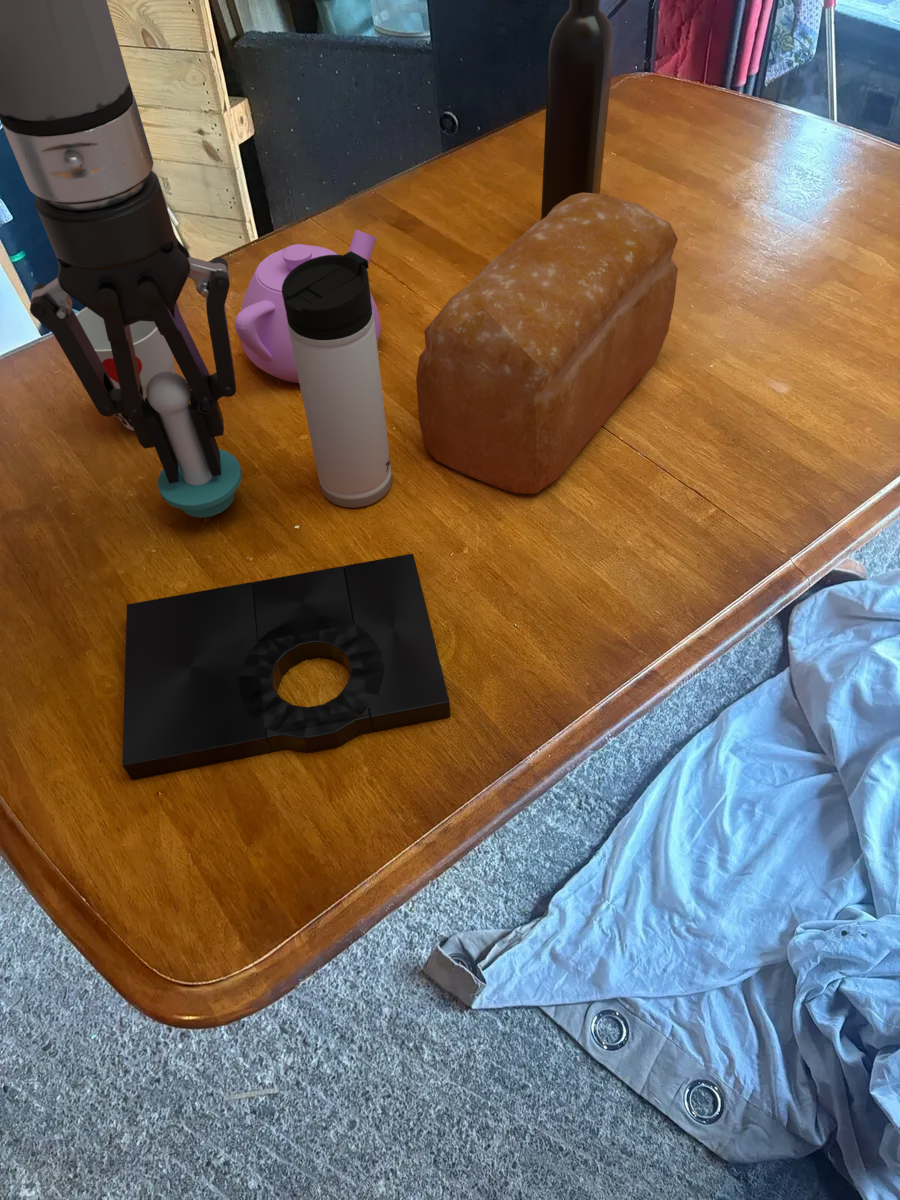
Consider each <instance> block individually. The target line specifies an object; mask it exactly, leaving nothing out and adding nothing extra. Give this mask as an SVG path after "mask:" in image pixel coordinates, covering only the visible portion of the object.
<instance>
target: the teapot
mask: <svg viewBox="0 0 900 1200" xmlns="http://www.w3.org/2000/svg"><path fill="white" fill-rule="evenodd" d="M377 238H378V237H376V236H374V235H372V234H369V233H367V232H364V231H361V230H359V229H355V230H354V232H353V236H352V239H351V241H350V246H349V249H348V251H347V253H348V252H350V251H352V252H354V253H356V254H357V255H359V256H361V257H363V258H365V259H366V260H368V265H369V264H370V261H371V258H372V254H373V251H374V248H375V246H376V242H377ZM325 255H339V254H338V253H337V252H335V251H333V250H331V249H329V248H326V247H324V246H323V247H322V246H318V245H307V244H301V243H296V244H291V245H287V246H286V247H285V248H282V249H279V250H278V251H275V252H273V253H271V254H270V255H268V256H267V257H265V258H264V259H263V260H262V261H261V262H260V263H259V264H258V265H257V266H256V269H255V271H254V273H253V274H252V277H251V279H250V281H249V283H248V286H247V288H246V291H245V293H244V297H243V300H242V303H241V306H240V307H241V308H240V311H239V312H238V313H237V314H236V316H235V318H234V329H235V332H236V334H237V336H238V338H239V340H240V343H241V345H242V350H243V351H244V354H245V355H246V356H247V358H248V359H249V360H250V362H251V363H252V364H254V365H255V367H258V368H259V369H261V370H262V371H264V372H265V373H267V374H268V375H271V376H272V377H274V378H277V379H279V380H282V381H285V382H289V383H294V384H300V383H299V378H298V374H297V369H296V364H295V359H294V354H293V349H292V344H291V339H290V334H289V328H288V324H287V315H286V310H285V305H284V300H283V295H282V285H283V282H284V280H285V278H286V277H287V275H288V274H289V273H290V272H291V271H292V270H293V269H294V268H296V267H297V266H298V265H300V264H302V263H304V262H305V261H308V260H310V259H313V258H316V257H320V256H325ZM366 269H367V268H366ZM367 270H368V269H367ZM370 295H371V304H372V309H373V315H374V323H375V332H376V341H377V344H378V342H379V340H380V336H381V332H382V325H381V317H380V313H379V310H378V308H377V305H376V302H375V299H374V297H373V295H372V293H371V292H370Z"/></svg>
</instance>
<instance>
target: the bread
mask: <svg viewBox="0 0 900 1200" xmlns="http://www.w3.org/2000/svg"><path fill="white" fill-rule="evenodd" d="M678 240H679V239H678V237H677V235H676V233H675V230H674V228H673V227H672V224H671V222H670V221H667V220H666V219H664V218H662V217H661V216H659V215H658V214H656V213H654V212H653V211H651V210H649V209H648V208H646V207H644V206H642V205H641V204H639V203H637V202H634V201H629V200H626V199H623V198H619V197H616V196H613V195H608V194H605V193H600V194H595V193H578V194H575V195H571V196H569V197H568V198H566V199H565V200H563V201H562V202H560V203H559V204H557V205H556V206H554V207H553V209H552V210H551V211H550V212H549V214H548V215H547V216H546V217H545V218H543V219H542V220H541V219H540V220H538V221H537V222H536V223H534V224H533V225H532V226H531V227H530V228H528V229H527V230H526V231H525V232H524V233H523V234H522V235H521V236H519V237H518V238H517V239H516V240H514V241H513V243H511V244H510V245H509V246H507V247H506V248H505V249H504V250H503V251H502V252H501V253H499V254H498V255H497V256H496V257H494V259H492V260H491V261H490V262H489V263H487V264H486V265H485V266H484V268H482V270H481V271H480V272H479V273H478V274H477V275H476V277H475V278H473V280H472V281H471V282H470V283H469V284H468V285H466V286H465V287H463V288H462V289H460V290H459V291H458V292H456V293H455V294H453V295H452V296H451V297H450V298H449V299H448V300H447V302H446V303H445V304H444V305H443V306H442V308H441V309H440V310H439V312H438V313H437V315H436V316H434V318H433V319H432V320H431V321H430V323H429V324H428V325H427V327H426V328H425V330H424V331H423V332H424V342H425V343H424V344H425V348H424V349H423V351H422V352H421V353H420V355H419V356H418V363H417V371H416V377H415V378H416V379H415V381H416V395H417V408H418V422H419V428H420V432H421V436H422V437H421V438H422V441H423V446H424V449H425V450H426V451H427V452H428V453H429V454H430V455H431V456H432V457H433V459H434V460H435V461H436V462H438V463H440V464H443V465H444V466H446V467H448V468H451V469H453V470H455V471H457V472H459V473H460V474H463V475H466V476H468V477H470V478H473V479H474V480H477V481H480V482H481V483H485V484H487V485H489V486H493V487H496V488H499V489H501V490H504V491H507V492H510V493H513V494H537V493H540V492H541V491H542V490H544V489H545V488H546V487H548V486H549V485H550V484H552V483H553V482H554V481H556V480H557V479H558V478H560V477H561V476H562V475H563V473H564V472H565V471H566V469H567V468H568V467H569V466H570V464H571V463H572V462H573V461H574V459H575V458H576V457H577V456H578V454H579V453H580V452H581V451H582V450H583V449H584V448H585V447H586V445H587V444H588V443H589V442H590V440H591V439H592V438H593V437H594V436H595V434H596V433H597V432H598V431H599V430H600V429H601V427H602V426H603V425H604V424H605V423H606V422H607V420H608V419H609V418H610V417H611V416H612V414H614V412H615V410H616V409H617V408H618V407H619V405H620V404H621V403H622V401H623V400H624V399H625V398H626V397H627V395H628V394H629V393H630V392H631V391H632V389H633V388H634V387H635V386H636V385H637V384H638V383H639V382H640V380H641V379H642V378H643V377H644V376H645V374H646V373H647V372H648V371H649V370H650V368H651V367H652V366H653V364H654V363H655V362H656V361H657V360H656V359H657V358H658V356H659V353H660V352H661V350H662V347H663V345H664V343H665V340H666V338H667V335H668V332H669V328H670V324H671V319H672V314H673V309H674V303H675V296H676V287H677V280H678V279H677V278H678V271H679V268H678V266H677V265H676V262H675V261H674V260H673V258H672V257H673V254H674V251H675V248H676V245H677V244H678V243H677V242H678Z"/></svg>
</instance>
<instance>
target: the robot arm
mask: <svg viewBox="0 0 900 1200" xmlns="http://www.w3.org/2000/svg"><path fill="white" fill-rule="evenodd" d="M0 124H1V126H2V128H3V131H4V133H5V136H6V138H7V140H8V143H9V145H10V148H11V150H12V152H13V155H14V158H15V159H16V162H17V165H18V167H19V169H20V172H21V174H22V176H23V179H24V181H25V183H26V185H27V187H28V190H29V191H30V192H31V193H32V194H34V195H35V199H34V205H35V208H36V211H37V212H38V213H37V214H38V216H39V218H40V221H41V223H42V226H43V229H44V230H45V233H46V236H47V238H48V240H49V242H50V246H51V247H52V250H53V253H54V254H55V257H56V259H57V263H58V272H57V275H56V277H55V278H54V279H53V280H52V281H50V282H49V283H44V282H38V283H36V284H34V285H33V288H32V293H31V298H30V306H29V312H30V314H31V315H32V317H34V318H35V319H36V320H37V321H38V322H40V323H41V324H42V325H43V326H44V328H46V329H47V330H48V331H49V332H51V334H53V336H54V337H55V340H56V341H57V343H58V345H59V346H60V348H61V351H63V354H64V355H65V357H66V359H67V360H68V362H69V363H70V365H71V367H72V369H73V370H74V372H75V374H76V376H77V377H78V380H79V381H80V383H81V384H82V386H83V388H84V389H85V391H86V393H87V394H88V396H89V398H90V400H91V401H92V403H93V405H94V407H95V408H96V410H97V411H98V413H99V415H101V416H102V417H112V416H115V415H114V413H118V414H123V415H125V416H127V417H128V418H129V419H130V421H131V423H132V426H133V428H134V431H133V432H134V433H135V435H136V438H137V441H138V443H139V445H140V446H141V447H142V448H143V449H150V448H155V450H156V453H157V456H158V459H159V461H160V464H161V466H162V470H163V469H164V471H165V474H166V477H167V479H168V482H169V484H170V483H176V482H179V475H178V461H177V459H176V456H175V454H174V451H173V448H172V446H171V443H170V441H169V438H168V436H167V433H166V430H165V428H164V425H163V423H162V420H161V418H160V415H159V412H157V411H156V410H155V409H154V408H153V407H152V406H151V405H150V403H149V402H148V399H147V398H145V401H144V398H143V387H142V385H141V380H140V375H139V370H138V365H137V360H136V355H135V350H134V345H133V340H132V335H131V330H130V326H129V325H131V324H133V323H136V322H138V321H150V322H154V323H155V325H156V327H157V328H158V330H159V332H160V334H161V335H162V336H164V338H165V340H166V342H167V344H168V346H169V348H170V350H171V352H172V354H173V359H175V362H176V364H177V365H178V368H179V369H180V371H181V373H182V375H183V378H184V379H185V380H186V382H187V383H188V385H189V387H190V390H191V399H190V402H189V403H190V407H191V415H192V418H193V421H194V424H195V427H196V430H197V433H198V436H199V439H200V442H201V445H202V448H203V451H204V454H205V457H206V460H207V463H208V466H209V469H210V472H211V475H212V476H217V475H221V461H220V452H219V449H220V448H219V446H218V442H217V439H216V437H223V436H224V432H225V425H224V416H223V413H222V409H221V407H220V404H219V400H220V399H221V398H222V397H225V398H231V397H233V396H236V395H235V394H236V393H237V384H236V374H235V366H234V358H233V352H232V344H231V338H230V332H229V325H228V318H227V311H226V302H227V298H228V294H229V290H230V285H231V283H230V272H229V264H228V261H227V260H226V258H223V257H220V256H216V257H213V258H212V259H211V260H210V261H207V260H203V259H199V258H197V257H196V258H195V257H192V256H190V254H189V251H188V250H187V248H186V247H185V246H184V245H183V244H182V243H181V242H180V241H179V239H178V237H177V236H176V233H175V230H174V227H173V223H172V220H171V216H170V213H169V210H168V207H167V203H166V200H165V196H164V193H163V190H162V187H161V182H160V179H159V177H158V175H157V174H156V173H155V172H154V171H153V167H154V159H153V156H152V155H153V154H152V151H151V147H150V145H149V142H148V137H147V134H146V131H145V127H144V124H143V121H142V116H141V114H140V111H139V108H138V104H137V100H136V97H135V95H134V93H133V89H132V86H131V82H130V79H129V76H128V72H127V68H126V65H125V62H124V58H123V54H122V51H121V47H120V44H119V39H118V36H117V33H116V28H115V26H114V22H113V18H112V15H111V12H110V8H109V4H108V1H107V0H0ZM188 278H189V279H191V280H192V281H193V282H194V285H195V290H196V292H197V293H198V294H199V295H200V296H201V297H202V298H205V306H206V317H207V323H208V329H209V335H210V336H209V337H210V341H211V348H212V353H213V360H214V365H215V371H216V372H214V373H212V374H210V372H209V370H208V368H207V366H206V364H205V361H204V359H203V358H202V355H201V353H200V351H199V349H198V347H197V344H196V343H195V341H194V339H193V337H192V335H191V333H190V331H189V328H188V326H187V325H186V323H185V320H184V318H183V316H182V314H181V311H180V309H179V305H178V299H179V298H180V295H181V293H182V291H183V289H184V286H185V284H186V282H187V280H188ZM71 298H72V299H74V300H76V301H77V302H78V303H80V304H81V305H83V306H84V307H85V308H86V307H87V308H89V309H90V310H91V311H93V312H94V313H96V314H97V315H98V316H100V317H101V318H103V319H104V324H105V328H106V333H107V337H108V341H109V342H110V345H111V350H112V354H113V359H114V363H115V368H116V372H117V377H118V381H119V386H120V389H116V388H115V386H114V384H113V382H112V381H111V379H110V377H109V375H108V373H107V371H106V370H105V368H104V366H103V364H102V362H101V360H100V359H99V357H98V355H97V353H96V351H95V349H94V348H93V346H92V344H91V342H90V340H89V339H88V337H87V335H86V333H85V331H84V329H83V328H82V326H81V324H80V322H79V320H78V318H77V317H76V313H75V312H74V310H73V300H72V299H71Z"/></svg>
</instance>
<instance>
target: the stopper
mask: <svg viewBox="0 0 900 1200" xmlns="http://www.w3.org/2000/svg"><path fill="white" fill-rule="evenodd" d="M146 395H147V399H148V402H149V403H150V405H151V406H152V407H153V408H154V409H155V410H156V411H157V412H159V415H160V418H161V420H162V423H163V425H164V428H165V430H166V433H167V436H168V438H169V441H170V443H171V446H172V448H173V451H174V454H175V456H176V459H177V461H178V475H179V482H176V483H170V484H169V482H168V479H167V477H166V474H165V471H164V469H163V468H162V469H161V471H160V473H159V475H158V478H157V489H158V491H159V494H160V496H161V497H162V499H163V501H164V502H165V503H167V504H168V505H170V506H171V507H173V508H176V509H179V510H182V511H183V512H184V513H185V514H187V515H188V516H190V517H193V518H211V517H214V516H217V515H219V514H221V513H223V512H224V511H225V510H227V509H228V508H229V507H230V506H231V504H233V501H234V499H235V493H236V491H237V490H238V488H239V487H240V485H241V483H242V479H243V472H242V471H243V470H242V468H241V465H240V461H238V459H237V458H236V457H235V455H233V454H232V453H230V452H228V451H226V450H223V449H220V448H219V452H220V461H221V475H217V476H212V475H211V472H210V469H209V466H208V463H207V460H206V457H205V454H204V451H203V448H202V445H201V442H200V439H199V436H198V433H197V430H196V427H195V424H194V421H193V418H192V415H191V407H190V399H191V389H190V387H189V385H188V383H187V381H186V379H185V377H184V376H182V375H180V374H178V373H176V372H175V373H174V372H169V371H166V372H160V373H158V374H156V375H154V376H153V377H152V378H151V379H150V381H149V382H148V385H147V388H146Z"/></svg>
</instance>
